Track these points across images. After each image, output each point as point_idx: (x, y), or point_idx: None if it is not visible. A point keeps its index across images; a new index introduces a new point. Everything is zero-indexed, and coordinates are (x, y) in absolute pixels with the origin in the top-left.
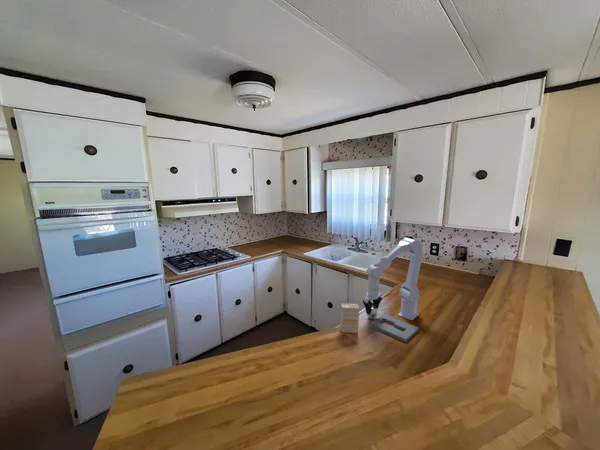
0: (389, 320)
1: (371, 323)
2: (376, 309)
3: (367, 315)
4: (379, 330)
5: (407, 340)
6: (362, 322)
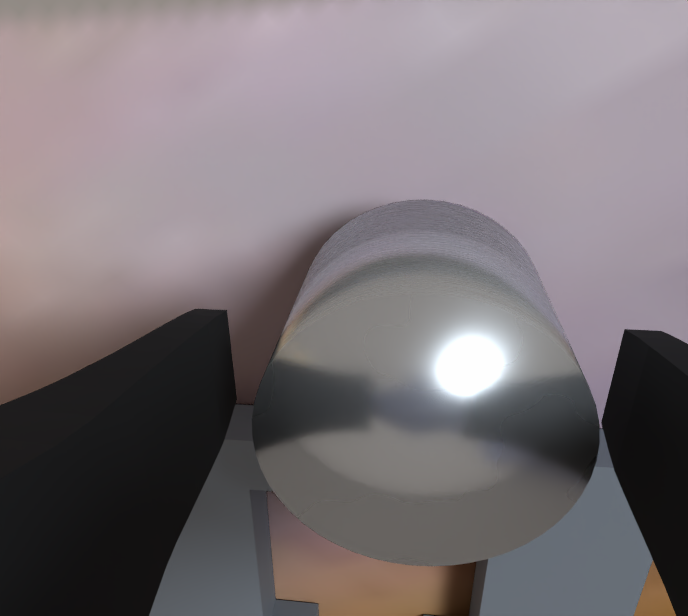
0: (483, 591)
1: None
2: (404, 561)
3: (321, 249)
4: None
5: None
6: (104, 236)
